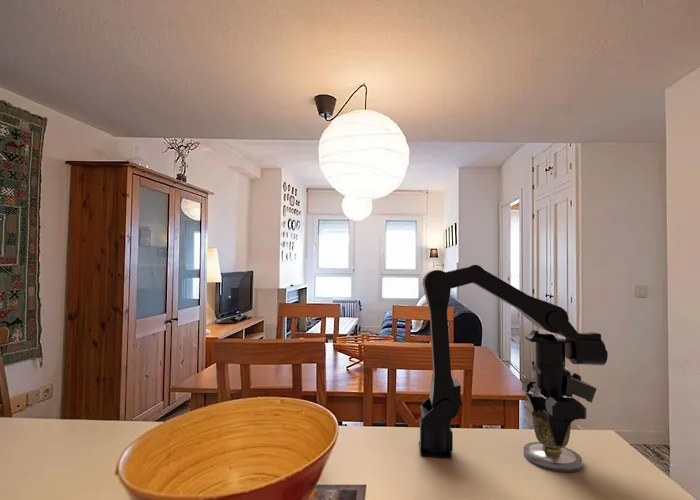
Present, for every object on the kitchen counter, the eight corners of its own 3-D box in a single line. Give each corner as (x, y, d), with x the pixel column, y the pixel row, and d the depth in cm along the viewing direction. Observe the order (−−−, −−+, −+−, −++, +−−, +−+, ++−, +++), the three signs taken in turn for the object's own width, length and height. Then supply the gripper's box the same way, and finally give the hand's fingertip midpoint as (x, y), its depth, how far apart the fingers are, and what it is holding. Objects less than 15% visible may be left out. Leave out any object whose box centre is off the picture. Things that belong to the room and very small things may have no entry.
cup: (578, 463, 76) (577, 422, 77) (538, 459, 77) (537, 419, 78) (564, 447, 83) (563, 410, 84) (528, 444, 85) (528, 407, 85)
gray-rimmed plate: (534, 470, 76) (534, 463, 76) (516, 445, 87) (516, 440, 87) (593, 474, 74) (592, 467, 74) (567, 449, 85) (567, 443, 85)
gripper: (615, 376, 72) (617, 461, 71) (570, 355, 90) (571, 423, 89) (552, 373, 73) (554, 457, 72) (521, 353, 91) (521, 420, 90)
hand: (551, 437), depth 81 cm, fingers open, 7 cm apart
